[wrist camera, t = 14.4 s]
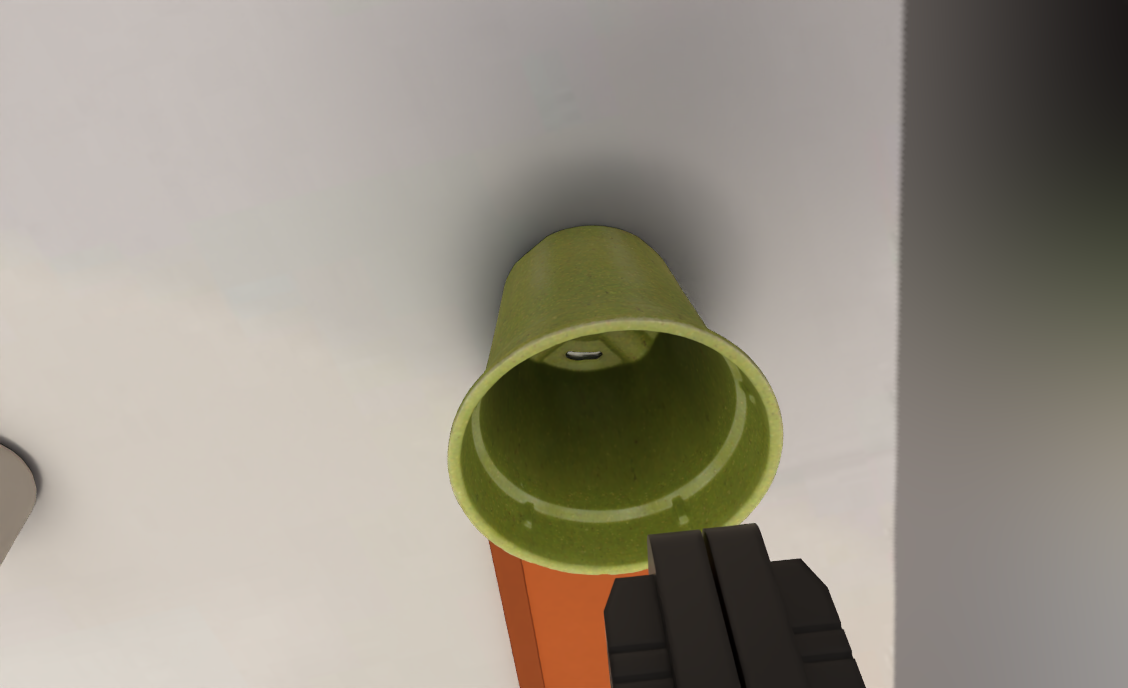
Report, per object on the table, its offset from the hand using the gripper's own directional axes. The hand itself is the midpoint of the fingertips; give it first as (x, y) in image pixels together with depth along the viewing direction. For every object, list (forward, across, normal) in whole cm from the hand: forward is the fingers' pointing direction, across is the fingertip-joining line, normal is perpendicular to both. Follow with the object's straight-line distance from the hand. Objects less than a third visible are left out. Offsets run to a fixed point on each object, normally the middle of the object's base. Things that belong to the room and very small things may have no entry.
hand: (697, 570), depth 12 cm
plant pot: (+19, 0, +7) cm, 20 cm away
